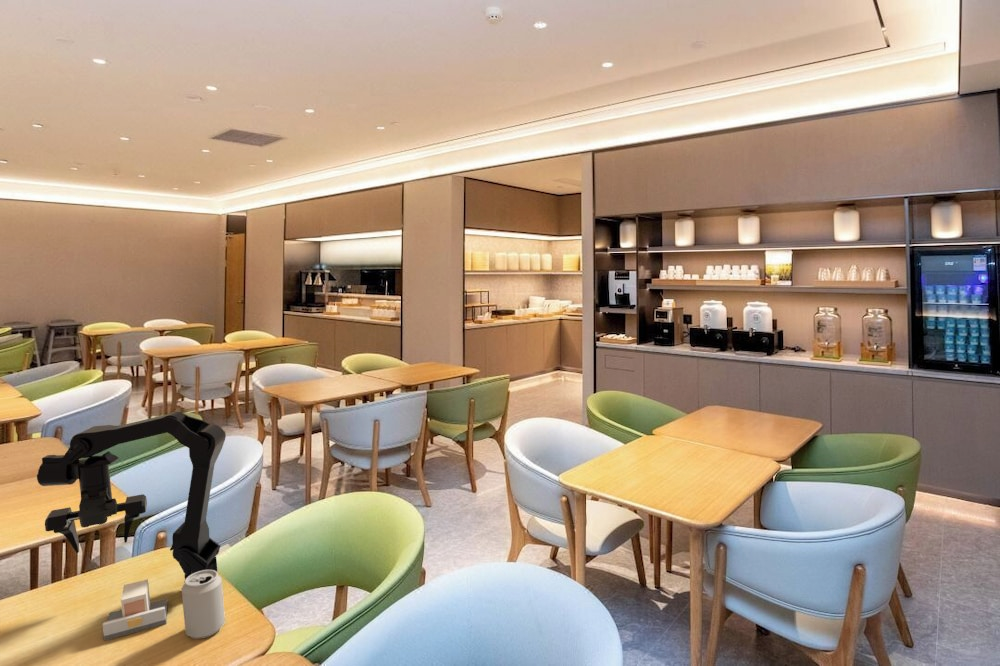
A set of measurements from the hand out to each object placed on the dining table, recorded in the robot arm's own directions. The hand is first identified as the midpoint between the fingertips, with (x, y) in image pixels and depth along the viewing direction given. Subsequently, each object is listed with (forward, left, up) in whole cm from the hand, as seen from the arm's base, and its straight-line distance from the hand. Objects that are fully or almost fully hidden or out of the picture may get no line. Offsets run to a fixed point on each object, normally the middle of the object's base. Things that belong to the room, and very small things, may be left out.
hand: (102, 546), depth 132 cm
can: (-20, +26, -12) cm, 35 cm away
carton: (-7, +14, -11) cm, 20 cm away
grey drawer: (-7, +15, -12) cm, 20 cm away
